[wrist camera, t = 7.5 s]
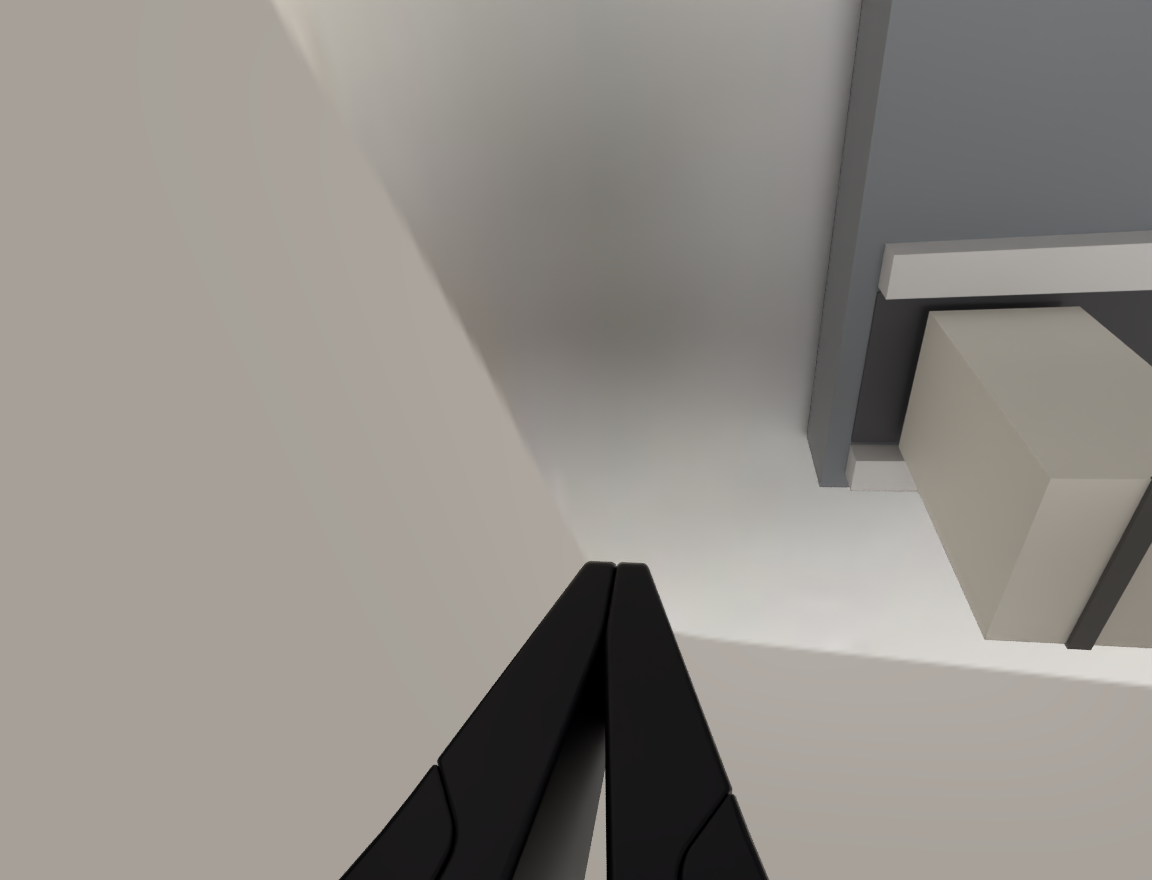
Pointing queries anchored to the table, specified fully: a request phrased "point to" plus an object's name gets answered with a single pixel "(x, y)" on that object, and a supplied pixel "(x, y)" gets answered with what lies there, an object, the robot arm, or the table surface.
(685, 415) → the table surface
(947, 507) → the fader tab
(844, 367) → the console board
